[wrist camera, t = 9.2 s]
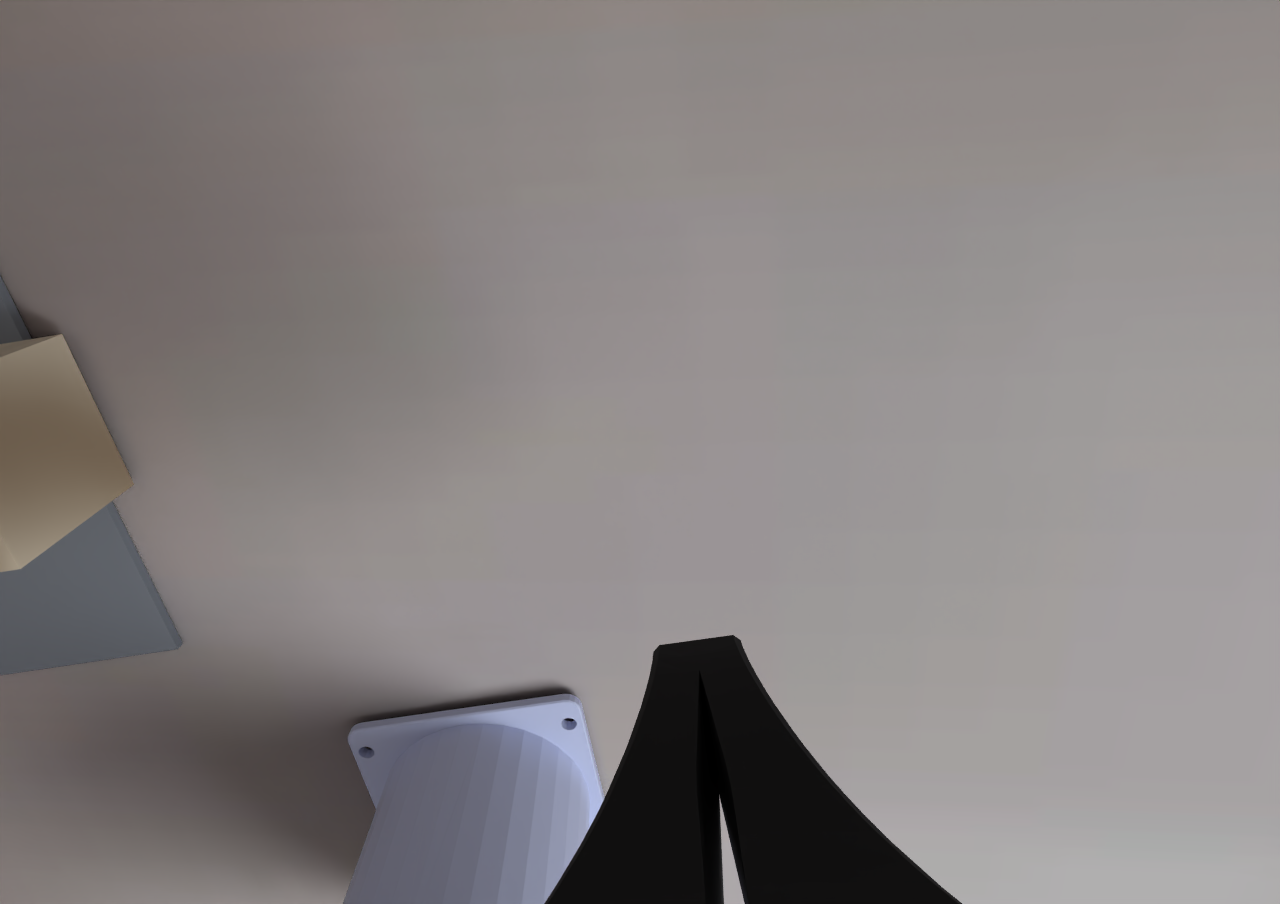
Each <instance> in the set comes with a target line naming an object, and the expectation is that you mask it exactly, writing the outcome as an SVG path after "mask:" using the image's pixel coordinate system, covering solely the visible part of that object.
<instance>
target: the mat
mask: <svg viewBox="0 0 1280 904" xmlns="http://www.w3.org/2000/svg"><path fill="white" fill-rule="evenodd" d="M29 339H32V338H31V336H30V334H29V332H28V330H27V328H26V326H25V324H24V322H23V320H22V318H21V316H20V314H19V312H18V310H17V308H16V306H15V304H14V302H13V300H12V298H11V296H10V294H9V292H8V290H7V288H6V286H5V284H4V282H3V280H2V278H1V276H0V344H5V343H11V342H17V341H23V340H29ZM181 645H182V641H181V639H180V637H179V635H178V633H177V631H176V629H175V627H174V625H173V623H172V621H171V618H170V616H169V614H168V612H167V610H166V608H165V606H164V604H163V602H162V600H161V598H160V596H159V594H158V592H157V590H156V588H155V586H154V584H153V582H152V580H151V578H150V576H149V574H148V572H147V570H146V568H145V566H144V564H143V562H142V560H141V558H140V556H139V554H138V552H137V550H136V548H135V546H134V544H133V542H132V540H131V538H130V536H129V534H128V532H127V530H126V528H125V526H124V524H123V522H122V520H121V518H120V516H119V514H118V512H117V510H116V508H115V506H114V504H113V502H112V501H111V502H110V503H109V504H107V505H106V506H105V507H103V508H102V509H101V510H99V511H98V512H97V513H95V514H94V515H92V516H91V517H90V518H88V519H87V520H86V521H84V522H83V523H82V524H80V525H79V526H78V527H76V528H75V529H74V530H72V531H71V532H70V533H68V534H67V535H66V536H64V537H63V538H62V539H60V540H59V541H58V542H56V543H55V544H54V545H52V546H51V547H50V548H48V549H47V550H46V551H44V552H43V553H41V554H40V555H39V556H37V557H36V558H35V559H33V560H32V561H31V562H29V563H28V564H27V565H25V566H24V567H23V568H21V569H18V570H11V571H5V572H0V675H6V674H13V673H19V672H26V671H33V670H40V669H47V668H53V667H60V666H67V665H74V664H80V663H87V662H94V661H101V660H107V659H114V658H121V657H128V656H135V655H141V654H148V653H155V652H162V651H168V650H175V649H178V648H179V647H180V646H181Z"/></svg>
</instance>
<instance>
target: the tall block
mask: <svg viewBox="0 0 1280 904" xmlns="http://www.w3.org/2000/svg"><path fill="white" fill-rule="evenodd" d="M133 485H134V483H133V481H132V479H131V477H130V475H129V473H128V471H127V469H126V467H125V465H124V462H123V460H122V458H121V456H120V454H119V452H118V450H117V448H116V446H115V444H114V441H113V439H112V437H111V435H110V433H109V431H108V429H107V427H106V425H105V423H104V421H103V418H102V416H101V414H100V412H99V410H98V408H97V406H96V404H95V402H94V400H93V398H92V395H91V393H90V391H89V389H88V387H87V385H86V383H85V381H84V379H83V377H82V375H81V372H80V370H79V368H78V366H77V364H76V362H75V360H74V358H73V356H72V354H71V351H70V349H69V347H68V345H67V343H66V341H65V339H64V337H63V335H62V334H59V335H53V336H47V337H41V338H35V339H29V340H23V341H17V342H11V343H5V344H0V572H5V571H11V570H18V569H21V568H23V567H24V566H25V565H27V564H28V563H29V562H31V561H32V560H33V559H35V558H36V557H37V556H39V555H40V554H41V553H43V552H44V551H46V550H47V549H48V548H50V547H51V546H52V545H54V544H55V543H56V542H58V541H59V540H60V539H62V538H63V537H64V536H66V535H67V534H68V533H70V532H71V531H72V530H74V529H75V528H76V527H78V526H79V525H80V524H82V523H83V522H84V521H86V520H87V519H88V518H90V517H91V516H92V515H94V514H95V513H97V512H98V511H99V510H101V509H102V508H103V507H105V506H106V505H107V504H109V503H110V502H111V501H113V500H114V499H115V498H117V497H118V496H119V495H121V494H122V493H123V492H125V491H126V490H127V489H129V488H130V487H131V486H133Z"/></svg>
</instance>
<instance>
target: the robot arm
mask: <svg viewBox="0 0 1280 904" xmlns="http://www.w3.org/2000/svg"><path fill="white" fill-rule="evenodd" d="M566 718H572V719H574V721H572V722H570V721H566V720H564V719H566ZM347 739H348V743H349V746H350V748H351V751H352V753H353V755H354V758H355V760H356V763H357V765H358V768H359V770H360V772H361V775H362V777H363V780H364V782H365V784H366V787H367V789H368V792H369V794H370V796H371V799H372V801H373V804H374V806H375V809H376V812H375V815H374V817H373V820H372V823H371V826H370V829H369V831H368V834H367V837H366V840H365V843H364V846H363V848H362V851H361V854H360V857H359V860H358V862H357V865H356V868H355V871H354V874H353V876H352V879H351V882H350V885H349V888H348V891H347V893H346V896H345V899H344V902H343V904H724V897H723V873H722V849H721V825H720V802H719V795H720V800H721V804H722V808H723V812H724V817H725V821H726V825H727V830H728V834H729V838H730V842H731V847H732V851H733V855H734V859H735V864H736V868H737V872H738V877H739V881H740V885H741V889H742V894H743V898H744V902H745V904H962V903H961V902H959V901H958V900H957V899H956V898H955V897H953V896H952V895H951V894H950V893H948V892H947V891H946V890H945V889H943V888H942V887H941V886H940V885H939V884H938V883H937V882H935V881H934V880H933V879H932V878H931V877H930V876H929V875H928V874H927V873H925V872H924V871H923V870H922V869H921V868H920V867H919V866H918V865H916V864H915V863H914V862H913V861H912V860H911V859H910V858H909V857H908V856H906V855H905V854H904V853H903V852H902V851H901V850H900V849H899V848H898V847H896V846H895V845H894V844H893V843H892V842H891V841H890V840H889V839H888V838H887V837H886V836H885V835H884V834H883V833H882V832H881V831H880V830H879V829H878V828H877V827H876V826H875V825H874V824H873V823H872V822H871V821H870V820H869V819H868V818H867V817H866V816H865V815H864V814H863V813H862V812H861V811H860V810H859V809H858V808H857V807H856V806H855V805H854V804H853V802H852V801H851V800H850V799H849V798H848V797H847V796H846V795H845V794H844V793H843V792H842V791H841V789H840V788H839V787H838V786H837V785H836V784H835V783H834V781H833V780H832V779H831V778H830V777H829V776H828V774H827V773H826V772H825V771H824V770H823V769H822V767H821V766H820V765H819V764H818V762H817V761H816V760H815V759H814V757H813V756H812V755H811V754H810V752H809V751H808V750H807V749H806V747H805V746H804V745H803V743H802V742H801V741H800V739H799V738H798V737H797V735H796V734H795V733H794V731H793V730H792V729H791V727H790V726H789V724H788V723H787V721H786V720H785V719H784V717H783V716H782V714H781V713H780V711H779V710H778V708H777V707H776V706H775V704H774V703H773V701H772V700H771V698H770V696H769V695H768V693H767V692H766V690H765V688H764V687H763V685H762V683H761V682H760V680H759V678H758V677H757V675H756V673H755V671H754V669H753V668H752V666H751V664H750V662H749V660H748V658H747V655H746V653H745V651H744V649H743V646H742V643H741V640H740V639H738V638H737V637H735V636H734V635H730V636H723V637H716V638H708V639H701V640H694V641H687V642H679V643H672V644H665V645H659V646H658V647H657V649H656V650H655V651H654V653H653V661H652V667H651V671H650V676H649V680H648V684H647V688H646V691H645V695H644V698H643V702H642V705H641V708H640V711H639V714H638V717H637V720H636V723H635V726H634V728H633V731H632V734H631V737H630V740H629V743H628V745H627V748H626V750H625V753H624V755H623V757H622V760H621V762H620V764H619V767H618V769H617V771H616V774H615V776H614V778H613V781H612V783H611V785H610V788H609V790H608V792H607V794H606V796H605V798H604V794H603V790H602V786H601V782H600V778H599V773H598V769H597V765H596V761H595V757H594V753H593V749H592V745H591V741H590V736H589V732H588V728H587V724H586V720H585V716H584V712H583V708H582V704H581V701H580V700H579V698H577V697H576V696H574V695H572V694H559V695H552V696H545V697H538V698H531V699H524V700H517V701H510V702H503V703H496V704H489V705H482V706H475V707H467V708H460V709H453V710H446V711H439V712H432V713H425V714H418V715H411V716H404V717H397V718H390V719H383V720H376V721H369V722H362V723H358V724H355V725H354V726H353V727H352V728H351V731H350V733H349V735H348V738H347ZM365 747H370V748H372V749H367V748H365Z"/></svg>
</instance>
